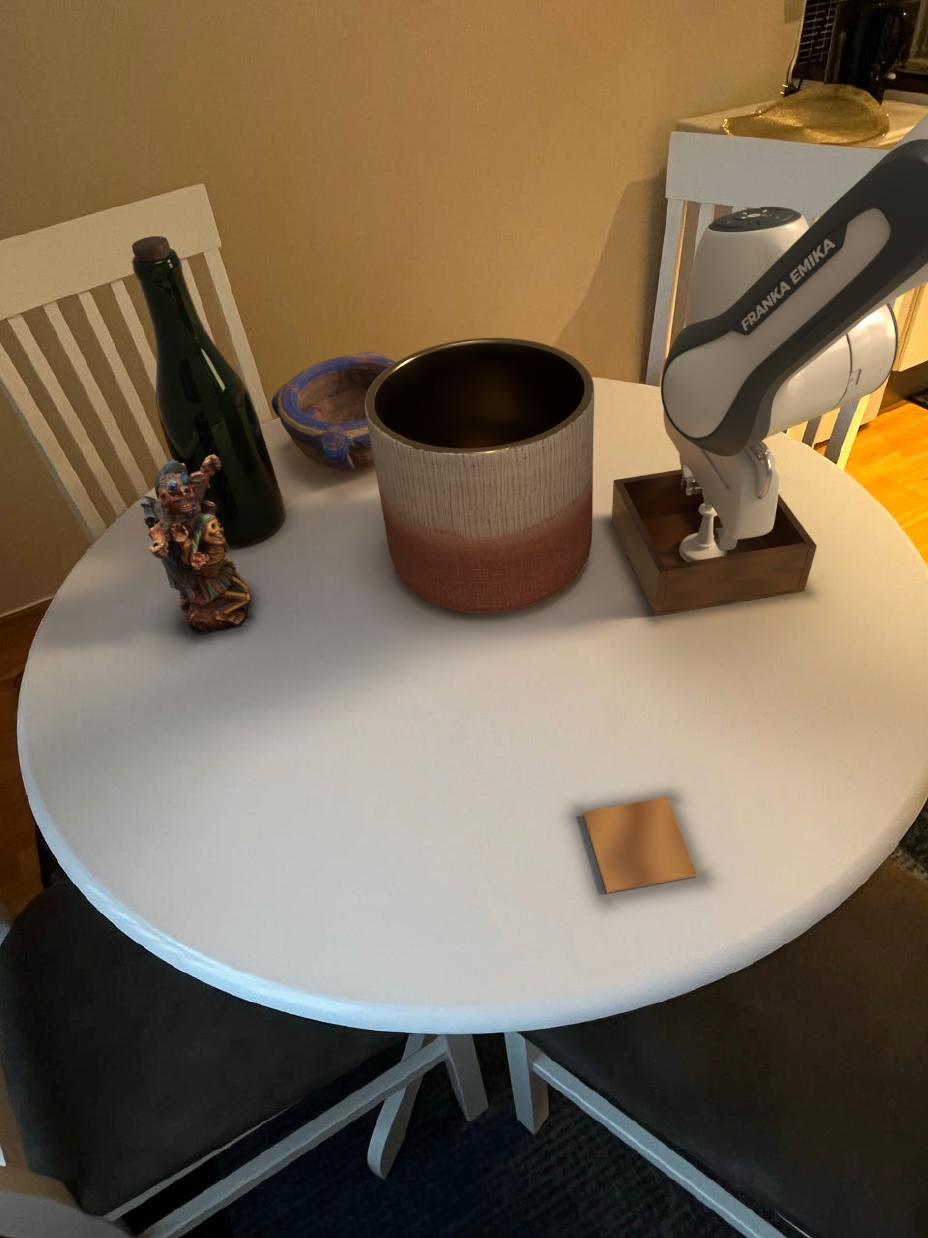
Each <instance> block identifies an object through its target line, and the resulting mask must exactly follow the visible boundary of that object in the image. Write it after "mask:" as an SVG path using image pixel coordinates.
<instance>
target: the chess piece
mask: <svg viewBox="0 0 928 1238" xmlns="http://www.w3.org/2000/svg"><path fill="white" fill-rule="evenodd" d="M702 495H703V498H704V503H703V504H701V505H700V507H699V512H700V514H702V515H703V519H702V522H701V526H700V529H699V532H698V533H695V534H691V535H689V536H687V537H686V538H684V539H683V541H682V542H681V546H680V548H679V552H680V555H681V557H682V558H683V559H684V560H685V561H687V562H690V561H696V560H702V559H708V558H714V557H720V556H726V555H727V550H724V551H720V550H719V549H718V547H717V545H716V544H715V542H714V540H713V539H714V537H715V536H714V535H713V517H714V516H717V513H716V512H715V510H714V508H713V507H712V505H711V504H710V502H709V500H708V499H707V497H706V496H705V494H704V492H703V491H702Z"/></svg>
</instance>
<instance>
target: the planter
mask: <svg viewBox="0 0 928 1238" xmlns="http://www.w3.org/2000/svg"><path fill="white" fill-rule="evenodd" d="M396 361H397V362H396V363H394V364H393V365H391V366H390V367H388V368H387V369H386V370H384V371H383V372H382V373H381V374H380V375H379V376H378V377H377V378H376V379H375V380H374V382H373V383H372V384H371V386H370V388H369V390H368V392H367V394H366V398H365V413H366V419H367V424H368V430H369V435H370V441H371V446H372V452H373V458H374V464H375V466H374V469H375V475H376V480H377V481H376V482H377V487H378V492H379V498H380V499H379V500H380V506H381V511H382V516H383V523H384V529H385V534H386V540H387V546H388V551H389V556H390V559H391V562H392V565H393V568H394V571H395V572H396V575H397V576H398V578H399V579H400V580H401V582H402V583H403V585H404V586H405V587H407V588H408V590H410V591H411V592H412V593H413V594H415V595H417V597H420V598H421V599H423V600H425V601H427V602H429V603H431V604H434V605H436V606H439V607H441V608H445V609H450V610H453V611H459V612H464V613H465V612H466V613H477V614H478V613H479V614H481V613H482V614H484V613H485V614H488V613H489V614H490V613H502V612H503V613H504V612H509V611H514V610H519V609H523V608H526V607H527V608H528V607H530V606H533V605H536V604H538V603H540V602H541V603H542V602H543V601H545V600H547V599H549V598H551V597H553V596H555V595H556V594H558V593H560V592H562V591H563V590H564V589H566V587H568V586H569V585H570V584H571V583H572V582H573V581H575V579H577V577H578V576H579V575H580V574H581V572H582V571H583V569H584V567H585V566H586V564H587V562H588V560H589V557H590V553H591V547H592V540H593V515H594V514H593V513H594V511H593V509H594V507H593V503H594V501H593V500H594V499H593V498H594V493H593V492H594V482H593V481H594V429H595V427H594V424H595V423H594V422H595V384H594V380H593V377H592V375H591V373H590V371H589V370H588V369H587V367H586V366H585V365H584V364H583V363H582V362H581V361H580V360H579V359H577V358H576V357H575V356H573V355H572V354H570V353H568V352H566V351H564V350H562V349H559V348H558V347H555V346H553V345H549V344H546V343H543V342H538V341H533V340H530V339H529V340H528V339H521V338H513V337H478V338H477V337H476V338H475V337H474V338H466V339H460V340H459V339H458V340H455V341H454V340H453V341H449V342H444V343H440V344H436V345H433V346H429V347H427V348H424V349H421V350H418V351H415V352H412V353H410V354H409V355H407V356H405V357H403V358H400V359H399V360H396Z"/></svg>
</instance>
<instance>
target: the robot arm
mask: <svg viewBox="0 0 928 1238" xmlns="http://www.w3.org/2000/svg"><path fill="white" fill-rule="evenodd" d="M697 244H698V245H697V247H696V250H695V255H694V256H693V262H692V266H691V272H690V277H689V282H688V287H687V288H688V289H687V297H686V305H685V312H684V313H685V314H684V325H685V327H684V328H683V329H682V330H681V331H679V333H678V334H677V336H676V337H675V339H674V340H673V343H672V345H671V347H670V349H669V352H668V354H667V357H665V358H664V359H663V361H662V370H661V371H662V373H661V380H660V381H661V382H660V397H661V403H662V407H663V423H664V424H663V425H664V429H665V432H666V435H667V436H668V438H669V439H670V441H671V442H672V444H673V446H674V447H675V449H676V451H677V452H678V457H679V464H680V469H681V471H682V482H681V487H682V488H683V490H684V491H685V493H686V494H687V495H692V494H699V493H700V492H701V491H703V492H704V494H705V496H706V497H707V499H708V500H709V502H710V504H711V505H712V507H713V508H714V510H715V512H716V513H717V515H718V516H719V518H720V520H721V524H722V525H723V526H722V528H716V529H715V533H714V536H715V537H714V539H713V540H714V542H715V544H716V545H717V547H718V549H719V550H720V551H724V550H731V549H733V548H735V547H736V544H737V539H745V538H753V537H758V536H762V535H765V534H767V533H768V532H770V531H771V530H772V528H773V525H774V520H775V514H776V508H777V500H778V494H779V490H780V469H779V465H778V462H777V460H776V459H775V457H774V455H773V454H772V453H771V451H770V449H769V447H768V446H767V444H766V443H765V442H764V440H765V439H768V438H770V437H772V436H775V435H777V434H780V433H782V432H785V431H787V430H790V429H792V428H794V427H797V426H800V425H802V424H805V423H807V422H809V421H811V420H814V419H816V418H819V417H821V416H823V415H826V414H827V413H830V412H832V411H835V410H838V409H840V408H842V407H845V406H847V405H850V404H851V403H854V402H857V401H859V400H861V399H862V398H864V397H866V396H868V395H871V394H872V393H874V392H876V391H877V390H878V389H880V388H881V387H882V386H883V385H884V383H885V382H886V381H887V379H888V378H889V376H890V374H891V372H892V370H893V368H894V366H895V362H896V360H897V359H896V358H897V354H898V350H899V326H898V321H897V319H896V315H895V312H894V310H893V307H892V306H891V304H890V303H891V302H892V301H893V300H895V299H897V298H899V297H902V296H903V295H905V294H907V293H909V292H911V291H912V290H916V288H919V287H921V286H923V285H925V284H928V113H926V114H925V115H924V117H922V119H920V120H919V121H918V122H917V123H916V125H914V126H913V127H912V128H911V129H910V130H909V131H908V132H907V133H906V134H905V135H904V136H903V137H902V138H901V139H900V140H899V141H898V142H897V143H896V144H895V145H894V146H892V148H891V149H890V150H889V151H888V152H887V153H886V154H885V155H884V156H883V157H882V159H880V160H878V162H877V163H876V164H875V165H874V166H873V167H872V168H870V170H869V171H868V172H866V174H865V175H864V176H863V177H861V178H860V179H859V180H858V181H857V182H856V183H855V184H854V185H853V186H852V187H850V188H849V190H847V191H846V192H845V193H844V194H843V195H842V196H841V197H840V198H838V199H837V200H836V202H835V203H833V204H832V205H831V206H830V207H829V208H828V209H827V210H826V211H825V212H823V214H822V215H821V216H820V217H819V218H818V219H817V220H816V221H815V222H814V223H813V224H812V225H811V226H809V224H808V221H807V219H806V218H805V216H804V215H803V214H802V213H801V212H799V211H797V210H794V209H792V208H789V207H783V206H782V207H781V206H760V207H755V208H746V209H743V210H738V211H735V212H732V213H729V214H726V215H723V216H721V217H718V218H716V219H714V220H713V221H712V222H711V223H710V224H709V225H707V226H706V228H705V229H704V230H703V232H702V235H701V236H700V239H699V242H698V243H697Z"/></svg>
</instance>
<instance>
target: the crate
mask: <svg viewBox="0 0 928 1238" xmlns="http://www.w3.org/2000/svg"><path fill="white" fill-rule="evenodd" d="M681 482H682V471H681V468H679V469H674V470H669V471H662V472H656V473H655V472H654V473H650V474H643V475H637V476H631V477H630V476H629V477H624V478H618V479H617V478H616V479H613V483H612V485H613V486H612V504H611V505H612V506H611V520H610V521H611V526H612V528H613V530H614V531H615V534H616V536H617V539H618V540H619V542H620V545H621V547H622V549H623V551H624V553H625V555H626V558H627V560H628V562H629V564H630V566H631V568H632V570H633V572H634V575H635V577H636V579H637V581H638V583H639V585H640V588H641V590H642V592H643V595H644V596H645V599H646V601H647V603H648V605H649V607H650V610H651V611H652V613H653V616H654V617H658V616H664V615H669V614H675V613H682V612H686V611H687V612H688V611H692V610H699V609H705V608H710V607H717V606H722V605H729V604H734V603H740V602H747V601H753V600H758V599H763V598H770V597H776V596H782V595H783V596H784V595H789V594H794V593H801V592H805V591H806V587H807V583H808V580H809V576H810V572H811V570H812V566H813V562H814V558H815V556H816V555H815V554H816V550H817V547H818V545H817V543H816V542H815V541H814V539H813V538H812V537H811V536H810V534H809V533H808V532H807V530H806V529H805V527H804V526H803V525H802V523H801V521H799V520H798V517H796V515H795V514H794V513H793V511H792V510H791V509H790V507H789V506H788V504H787V503H786V502H785V500H784V498H782V495H780V493H778V500H777V508H776V514H775V520H774V525H773V528H772V530H771V531H770V532H768V533H767V534H765V535H762V536H758V537H753V538H745V539H737V544H736V547H735V548H733V549H731V550H727V555H726V556H720V557H714V558H708V559H702V560H696V561H690V562H687V561H685V560H684V559H683V558H682V557H681V555H680V552H679V548H680V546H681V542H682V541H683V539H684V538H686V537H687V536H689V535H691V534H695V533H698V532H699V529H700V526H701V522H702V519H703V515H702V514H700V512H699V507H700V505H701V504H703V503H704V498H703V495H702V491H701V492H700V493H699V494H692V495H687V494H686V493H685V491H684V490H683V488H682V487H681ZM722 526H723V525H722V524H721V520H720V518H719V516H718V515H717V516H714V517H713V535H714V533H715V529H716V528H722Z"/></svg>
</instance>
